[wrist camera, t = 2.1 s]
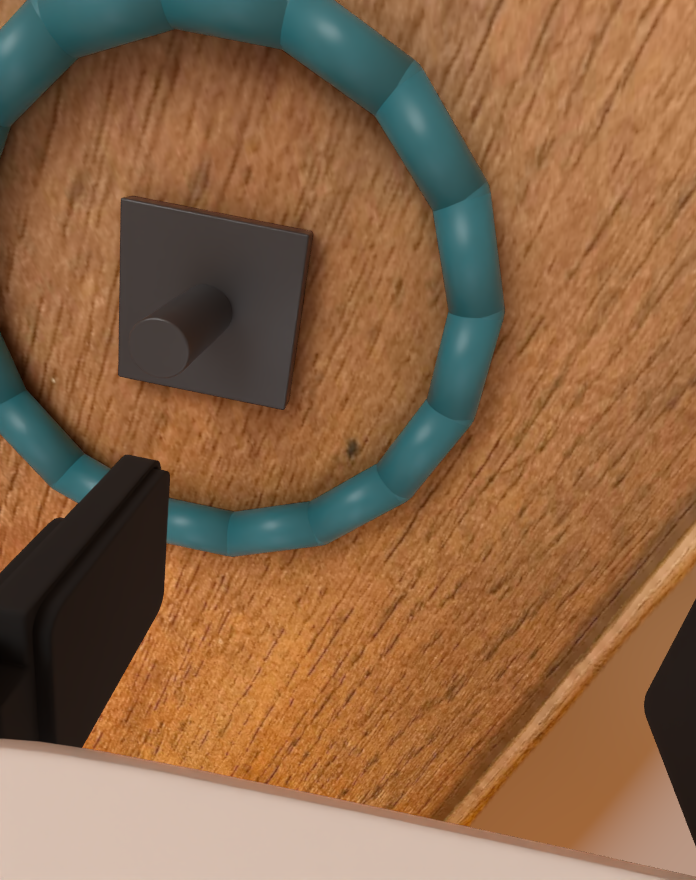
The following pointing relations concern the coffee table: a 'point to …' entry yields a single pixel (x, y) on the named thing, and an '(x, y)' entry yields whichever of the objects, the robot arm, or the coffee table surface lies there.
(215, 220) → the post
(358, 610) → the coffee table surface
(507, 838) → the robot arm
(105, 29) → the ring
